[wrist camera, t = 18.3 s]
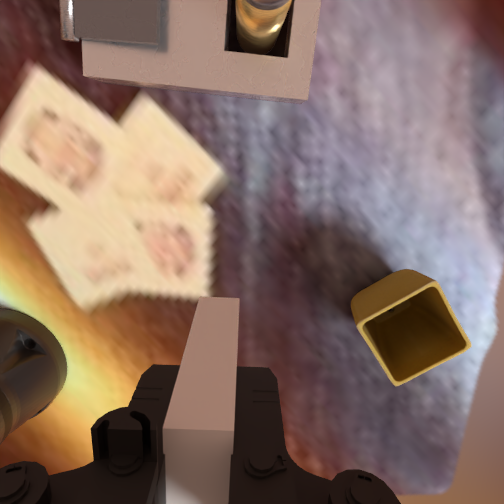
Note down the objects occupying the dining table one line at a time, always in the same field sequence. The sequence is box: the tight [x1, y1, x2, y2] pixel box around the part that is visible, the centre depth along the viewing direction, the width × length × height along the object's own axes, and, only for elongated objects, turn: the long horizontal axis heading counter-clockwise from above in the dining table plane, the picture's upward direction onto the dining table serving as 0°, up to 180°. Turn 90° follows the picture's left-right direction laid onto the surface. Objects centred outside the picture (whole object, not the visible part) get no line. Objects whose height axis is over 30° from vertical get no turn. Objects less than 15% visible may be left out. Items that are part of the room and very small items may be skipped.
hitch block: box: [82, 0, 321, 104], centre depth 33 cm, size 20×12×5 cm, turn 84°
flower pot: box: [351, 269, 471, 386], centre depth 41 cm, size 9×9×9 cm
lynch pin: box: [236, 0, 292, 55], centre depth 28 cm, size 4×4×16 cm
